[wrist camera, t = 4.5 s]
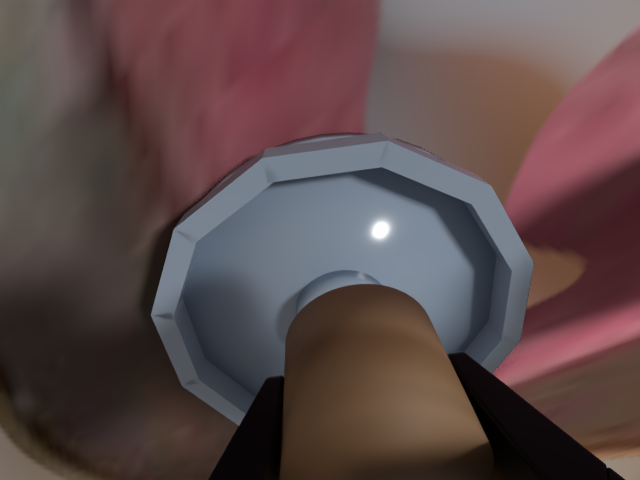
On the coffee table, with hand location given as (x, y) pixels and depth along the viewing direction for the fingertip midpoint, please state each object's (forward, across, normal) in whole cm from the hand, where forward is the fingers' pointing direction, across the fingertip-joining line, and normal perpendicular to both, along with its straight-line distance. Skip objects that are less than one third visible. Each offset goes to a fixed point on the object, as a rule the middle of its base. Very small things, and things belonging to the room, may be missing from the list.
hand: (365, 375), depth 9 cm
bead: (+1, 0, 0) cm, 1 cm away
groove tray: (+10, 0, +5) cm, 11 cm away
